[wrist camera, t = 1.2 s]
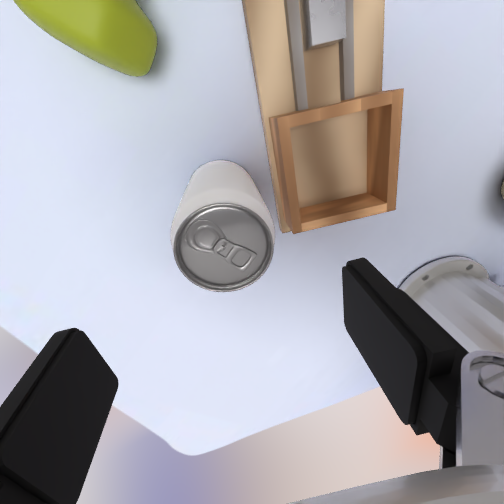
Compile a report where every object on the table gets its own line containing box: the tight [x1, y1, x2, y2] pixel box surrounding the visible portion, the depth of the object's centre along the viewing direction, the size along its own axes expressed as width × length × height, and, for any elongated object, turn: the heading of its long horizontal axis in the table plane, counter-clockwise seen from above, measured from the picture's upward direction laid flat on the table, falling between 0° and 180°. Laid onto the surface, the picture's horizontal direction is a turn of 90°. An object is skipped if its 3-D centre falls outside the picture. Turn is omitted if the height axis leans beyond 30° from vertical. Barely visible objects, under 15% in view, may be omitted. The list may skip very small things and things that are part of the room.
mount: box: [242, 0, 404, 234], centre depth 20 cm, size 10×24×5 cm, turn 12°
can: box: [171, 160, 275, 292], centre depth 20 cm, size 6×6×12 cm
